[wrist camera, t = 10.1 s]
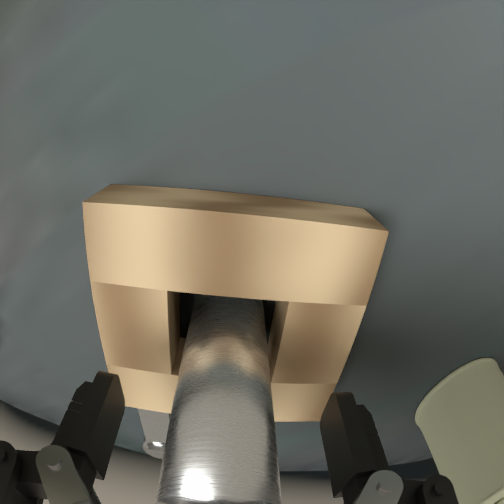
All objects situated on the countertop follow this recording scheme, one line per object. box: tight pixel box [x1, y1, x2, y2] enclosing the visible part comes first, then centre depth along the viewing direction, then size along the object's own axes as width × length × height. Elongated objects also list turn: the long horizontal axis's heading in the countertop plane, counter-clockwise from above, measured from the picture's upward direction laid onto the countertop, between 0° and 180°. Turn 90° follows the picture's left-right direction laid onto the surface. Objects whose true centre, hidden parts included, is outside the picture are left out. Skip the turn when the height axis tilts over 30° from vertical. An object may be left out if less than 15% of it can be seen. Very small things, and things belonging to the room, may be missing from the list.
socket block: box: [83, 184, 389, 422], centre depth 15 cm, size 12×12×3 cm
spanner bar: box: [138, 408, 171, 459], centre depth 20 cm, size 11×3×1 cm, turn 174°
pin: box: [156, 294, 282, 504], centre depth 12 cm, size 4×4×11 cm
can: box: [415, 358, 504, 504], centre depth 16 cm, size 9×9×12 cm
